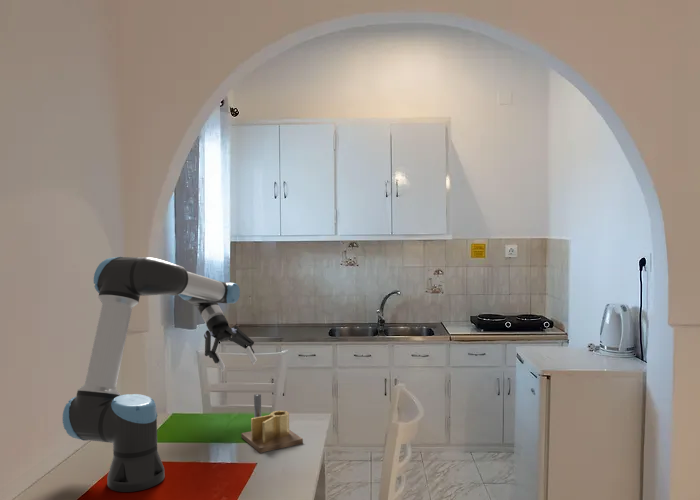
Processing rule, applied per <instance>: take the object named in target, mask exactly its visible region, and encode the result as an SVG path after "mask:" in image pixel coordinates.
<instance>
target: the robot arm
mask: <svg viewBox="0 0 700 500" xmlns="http://www.w3.org/2000/svg"><path fill="white" fill-rule="evenodd" d="M93 284H94V289H95V290H96V292H97V293H98V297H97V298H98V299H99V301H100V303H101V309H100V313H99V318H98V320H97V321H98V322H97V326H96V332H95V336H94V340H93V346H92V348H91V349H92V350H91V355H90V358H89V363H88V367H87V372H86V377H85V381H84V384H83V385H82V386H81V387H79V388H78V389H77V392H76V396H74V397H72V398H70V399H69V400H68V403H66V404H65V406H64V408H63V412H62V424H63V429H64V431H66V432H65V433H66V434H67V436H70V437H71V438H72V439H77V440H80V441H87V442H88V441H89V442H100V443H112V447H113V448H112V451H113V457H112V460H111V463H110V467H109V470H108V473H107V478H106V481H107V483H106V484H107V487H108V488H109V489H110V490H111V491H114V492H121V493H131V492H139V491H143V490H148V489H150V488H153V487H156V486H158V485H159V484H160V483H162V482H163V481H164V479H165V477H166V475H165V467H164V465H163V464H164V463H163V461H162V459H161V456H160V454H159V451H158V412H157V404H156V401H155V400H154V399H153V398H152V397H150V396H148V395H145V394H140V393H132V394H130V393H126V394H121V393H120V391H118V389H117V384H118V380H119V379H118V378H119V374H120V369H121V364H122V361H123V355H124V351H125V345H126V339H127V334H128V330H129V324H130V321H131V315H132V310H133V308H134V307H135V306H137V305H139V303H140V297H141V296H142V297H143V296H144V297H146V296H149V297H150V296H162V295H163V296H164V295H165V296H174V297H175V296H178V297H180V298H181V299H182V300H183V301H186V302H188V303H189V304H191V305H192V306H194V307H196V308H197V310H198V312H199V314H200V315H201V318H202V319H203V321H204V324H205V326H206V328H207V330H206V331H205V333H204V334H203V337H204V339H205V340H204V356H205V357H209V358H210V359H212V361H213V362H214V364H217V366H218V369H219V371H220V372H224V370H225V369H226V364H225V363H224V360H223V359H222V357H221V355H220V353H219V351H217V350H218V349H217V348H218V345H219V343H220V342H224V341H225V342H227V341H230V342H233V343H235V344H236V345H238V346H240V347H242V348H244V349H245V350H244V352H245V353H246V355H247V357H248V359H249V361H250V363H251V364H252V365H255V364H256V362H257V361H258V358H257V357H256V355H255V350H254V349H253V345H255V341H253V339H251V338H250V337H249V336H247V334H245V333H244V332H243V331H242V330H241V329H240V328H239V327H238V326H237V325H234V327H231V326H229V321H228V320H227V318H226V316H225V315H224V312H223V310H222V309H221V306H220V304H227V305H229V304H236V303H237V302H238V301H239V299H240V294H241V290H240V286H239V284H238V283H235V282H226V281H225V282H223V281H220V280H216V279H214V278H210V277H207V276H204V275H200V274H197V273H194V272H190V271H187V270H186V269H185V267H183V266H181V265H178V264H175V263H172V262H170V261H166V260H163V259H160V258H156V257H150V256H147V257H143V256H141V257H138V256H137V257H134V256H132V257H131V256H127V257H126V256H117V257H108V258H106V259H104V260H103V261H101V262H100V263H99V264H98V266H96V269H95V271H94V274H93ZM212 338H214V341H213V345H212V344H211V343H212V341H211V340H212ZM211 345H212V346H211Z"/></svg>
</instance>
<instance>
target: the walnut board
mask: <svg viewBox="0 0 700 500" xmlns="http://www.w3.org/2000/svg"><path fill="white" fill-rule="evenodd" d="M240 436H241V439H242V440H244V441H245V442H246V443H248V444H249V445H250V446H251V447H252V448H253V449H254V450H256V451H257V452H258V453H259V454H261V453H265V452H268V451H269V452H270V451H273V450H278V449H283V448H288V447H289V448H290V447H292V446H299V445H302V444H303V443H304V439H303V437H301V436H299V435H298V434H296V433H295V432H293V431H292V430H291V429H289V435H288V436H285V437H276V438H274V439H273V440H271V441H270V442H268V443H267V444H263V438H262V439H257V440H251V430H250V431H246V432H245V431H244V432H241V435H240Z"/></svg>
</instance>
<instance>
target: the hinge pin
mask: <svg viewBox="0 0 700 500" xmlns="http://www.w3.org/2000/svg"><path fill="white" fill-rule="evenodd" d="M253 410H254V412H253V414H254V417H253V418H256V417H261V416H262V394H261V393H256V394H254V395H253Z"/></svg>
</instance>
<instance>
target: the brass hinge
mask: <svg viewBox="0 0 700 500" xmlns="http://www.w3.org/2000/svg"><path fill="white" fill-rule="evenodd" d="M289 430H290V412H288V411H286V410H274V411H271V412H270V414H266V415H261V417H256V418H254V417H252V418H250V431H251V440H257V439H262V438H263V444H267V443H268V442H270V441H271V440H273V439H274V438H276V437H285V436H288V435H289Z"/></svg>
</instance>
